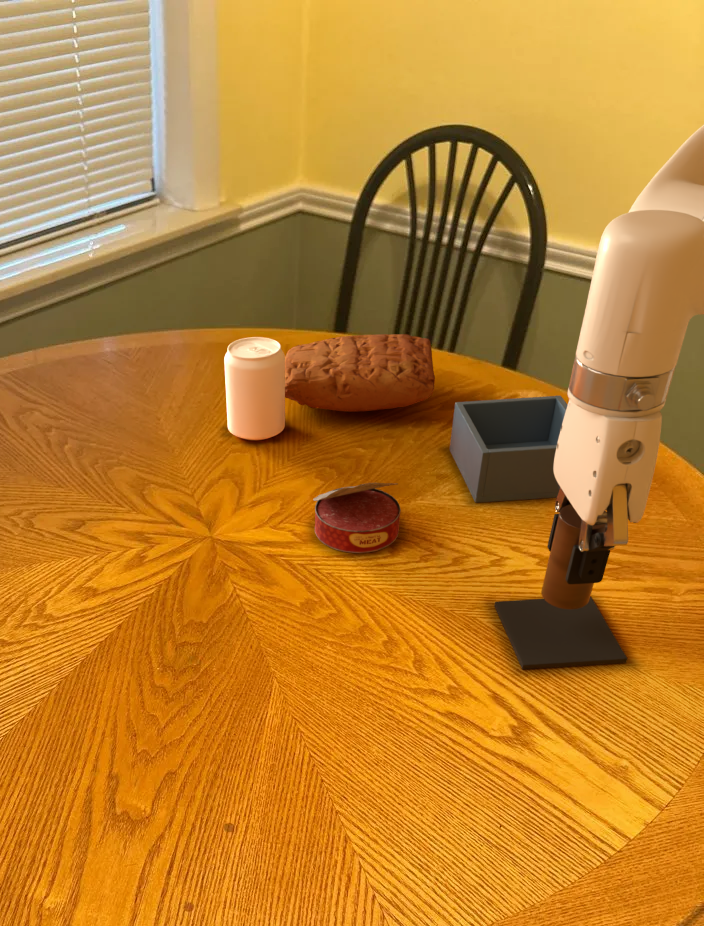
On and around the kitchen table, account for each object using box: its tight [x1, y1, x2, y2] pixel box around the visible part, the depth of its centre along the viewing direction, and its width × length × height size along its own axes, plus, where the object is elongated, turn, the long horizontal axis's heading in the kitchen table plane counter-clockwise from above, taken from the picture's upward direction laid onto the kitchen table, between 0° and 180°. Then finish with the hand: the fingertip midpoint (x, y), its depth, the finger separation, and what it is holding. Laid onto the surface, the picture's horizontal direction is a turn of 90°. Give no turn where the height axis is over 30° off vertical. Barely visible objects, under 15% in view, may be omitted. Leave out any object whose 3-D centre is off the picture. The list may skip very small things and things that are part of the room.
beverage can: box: [223, 336, 286, 441], centre depth 122 cm, size 8×8×12 cm
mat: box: [493, 595, 628, 670], centre depth 89 cm, size 10×10×1 cm
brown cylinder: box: [541, 504, 607, 609], centre depth 83 cm, size 4×4×9 cm
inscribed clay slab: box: [285, 333, 436, 412], centre depth 129 cm, size 22×17×8 cm
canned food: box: [312, 482, 402, 554], centre depth 103 cm, size 11×10×10 cm
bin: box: [449, 395, 568, 504], centre depth 111 cm, size 14×14×7 cm
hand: (573, 563), depth 84 cm, fingers closed on brown cylinder, 4 cm apart
